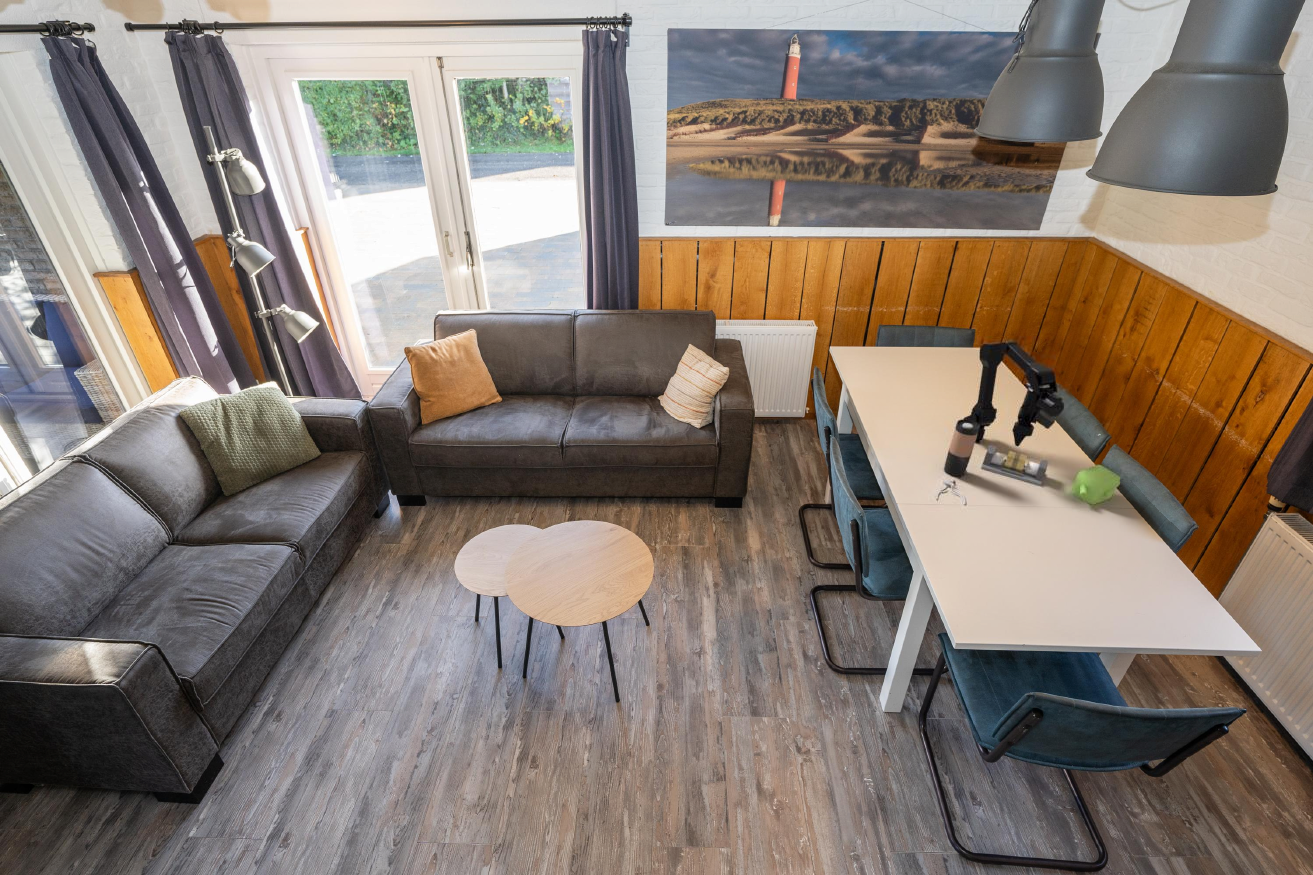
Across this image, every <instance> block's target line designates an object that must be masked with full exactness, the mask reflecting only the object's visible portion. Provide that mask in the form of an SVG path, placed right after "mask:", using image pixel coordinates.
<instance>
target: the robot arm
mask: <svg viewBox="0 0 1313 875" xmlns="http://www.w3.org/2000/svg"><path fill="white" fill-rule="evenodd" d="M1005 355H1006V356H1007V357H1008V358H1009V359H1011V361H1013V363H1015V364H1016V365H1017V367H1018V368H1020V369H1021V370H1022V371H1023V373H1024V377H1025V379H1026V381H1027V383H1024V384H1023V387H1025V388H1027V391H1026V394H1025V396H1024V399H1023V402H1022V404H1021V406H1020V407H1019V410H1018V414H1017V421H1015V422H1014V424H1013V427H1012V430H1011V431H1012V434H1013V439H1014V446H1015V447H1019V446H1021V444H1022V442H1023V441H1024V440H1025V438H1026V437H1032V435H1033V432H1034V431H1035V430H1034V429H1035V426H1034V424H1037V423H1038V424H1040V425H1041V426H1043V427H1044V428H1045V429H1047V430H1048V429H1050V428H1051V427H1052V426H1053V425H1054V424H1055V423H1056V417H1057V416H1059V415H1061V413H1062V412H1063V411H1064V409H1065V403H1064V402H1063V397H1061V396H1058V395H1057V394H1055V393H1058V391H1059V390H1058V385H1057V381H1056V374H1055V372H1054V370H1052V369H1051V368H1050V367H1048V366H1047V365H1044V364H1040V363H1039V362H1036V360H1035V359H1033V357H1032V356H1030V355H1029V353H1027V352H1026V351H1025V350H1024V349H1023V348H1022V347H1021V346H1020V345H1019V343H1018V342H1017V341H1015V340H1010V341H1008V340H1007V341H1003V342H990V343H983V344H982V345H981V346H980V347H979V361H980V362H981V365H982V369H981V370H982V371H981V376H980V382H979V383H980V384H979V389H978V390H979V391H978V397H977V402H976V403H975V404H974V405H973V407H972V409H971V413H970V414H969V415H967V416H965V417H963V419H966V420H971V421H974V422H976V423H977V424H979V426H980V428H979V431H978V434H977V438H976V441H975V443H976V444H980V443H981V441H983V439H984V436H985V433H986V428H985V427H990V426H991V424H993V423H994V422H995V420H996V419H997V412H998V410H997V408H995V406H994V405H993V398H994V397H993V396H994V392H995V391H994V390H995V386H996V377H997V372H998V367H999V366H1000V365H1001V363H1003V361H1004V357H1005ZM1046 386H1049V387H1046Z"/></svg>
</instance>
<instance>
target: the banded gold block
mask: <svg viewBox="0 0 1313 875" xmlns="http://www.w3.org/2000/svg"><path fill="white" fill-rule="evenodd" d="M1027 458H1028V455H1026V454H1022V453H1020V452H1016V451H1012V450H1009V451H1008V455H1007V457H1006V462H1005V465H1004V469H1008V470H1011V471H1015V472H1018V473H1022V470H1023V467H1024V465H1025V466H1026V461H1027Z"/></svg>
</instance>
